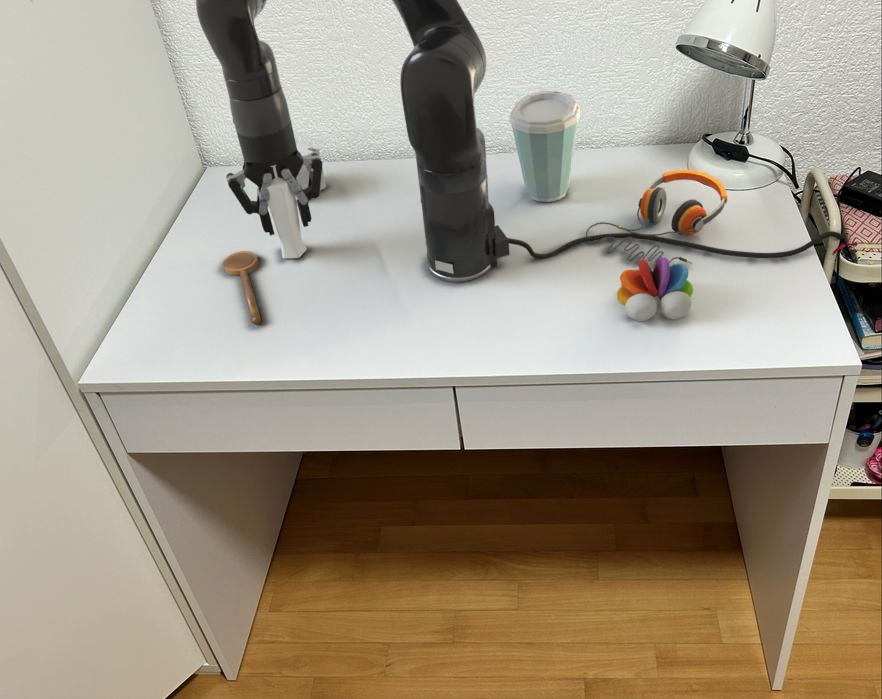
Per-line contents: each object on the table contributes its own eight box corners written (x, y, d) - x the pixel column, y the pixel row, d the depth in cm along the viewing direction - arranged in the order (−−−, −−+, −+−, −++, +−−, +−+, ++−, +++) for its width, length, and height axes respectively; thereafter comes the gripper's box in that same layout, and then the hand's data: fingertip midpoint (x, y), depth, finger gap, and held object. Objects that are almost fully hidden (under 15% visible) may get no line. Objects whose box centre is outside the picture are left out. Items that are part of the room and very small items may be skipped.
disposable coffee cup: (561, 215, 133) (561, 124, 123) (499, 201, 138) (495, 112, 128) (590, 183, 139) (592, 94, 130) (530, 170, 144) (528, 84, 135)
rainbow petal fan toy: (612, 288, 118) (614, 243, 113) (685, 284, 117) (690, 238, 112) (620, 327, 111) (623, 281, 107) (697, 323, 111) (703, 277, 106)
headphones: (574, 226, 125) (655, 145, 132) (579, 252, 129) (657, 172, 136) (674, 269, 116) (756, 179, 122) (675, 295, 119) (755, 207, 126)
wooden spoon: (222, 260, 132) (220, 254, 131) (255, 252, 132) (254, 245, 132) (239, 331, 118) (237, 324, 117) (276, 321, 119) (275, 314, 118)
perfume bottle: (311, 242, 133) (291, 153, 123) (305, 258, 129) (284, 169, 120) (282, 243, 133) (260, 155, 124) (275, 259, 130) (252, 170, 120)
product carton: (276, 193, 146) (267, 153, 141) (303, 177, 149) (294, 138, 144) (301, 203, 143) (292, 163, 138) (327, 187, 146) (319, 147, 141)
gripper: (213, 144, 114) (244, 253, 125) (319, 120, 116) (340, 228, 127) (207, 122, 119) (237, 227, 130) (308, 99, 122) (329, 204, 133)
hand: (288, 227), depth 129 cm, fingers closed on perfume bottle, 4 cm apart
